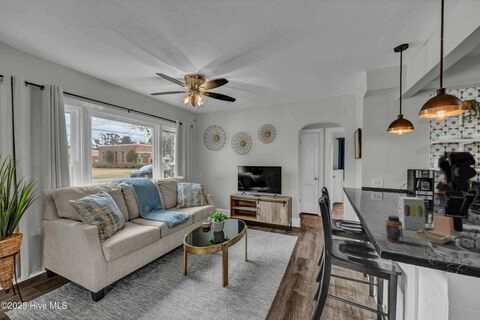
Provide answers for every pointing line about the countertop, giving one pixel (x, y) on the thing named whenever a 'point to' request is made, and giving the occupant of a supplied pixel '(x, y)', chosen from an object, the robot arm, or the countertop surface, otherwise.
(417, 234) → the wooden frame
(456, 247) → the countertop surface
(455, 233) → the pad
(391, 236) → the supplement bottle
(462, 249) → the countertop surface
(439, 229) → the part block
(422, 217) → the supplement box
